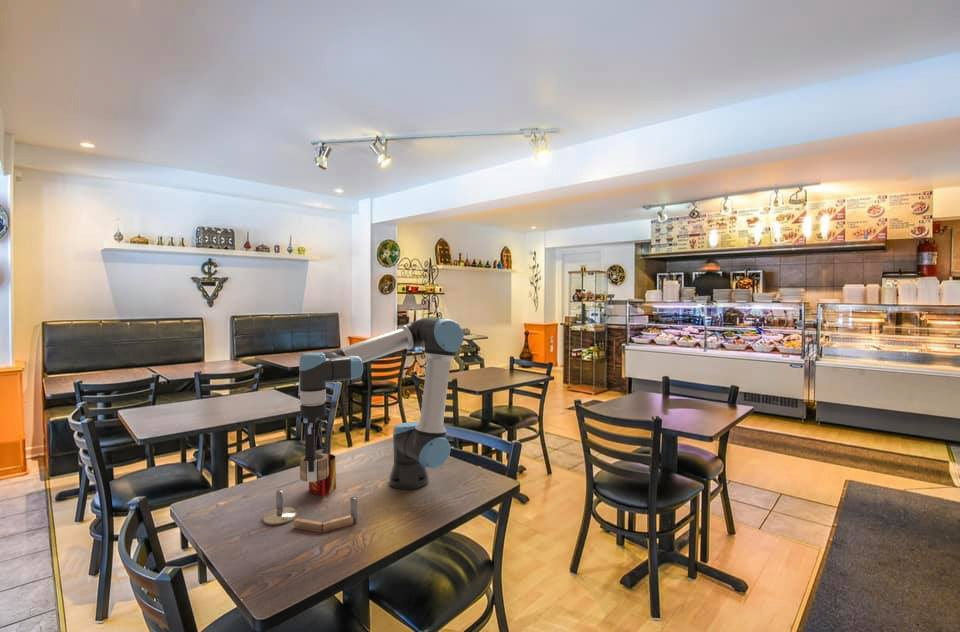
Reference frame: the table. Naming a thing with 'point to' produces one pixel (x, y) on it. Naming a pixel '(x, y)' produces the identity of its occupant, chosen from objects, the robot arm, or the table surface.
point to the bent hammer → (329, 524)
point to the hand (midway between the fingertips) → (314, 475)
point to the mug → (325, 480)
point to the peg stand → (279, 512)
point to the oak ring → (321, 467)
